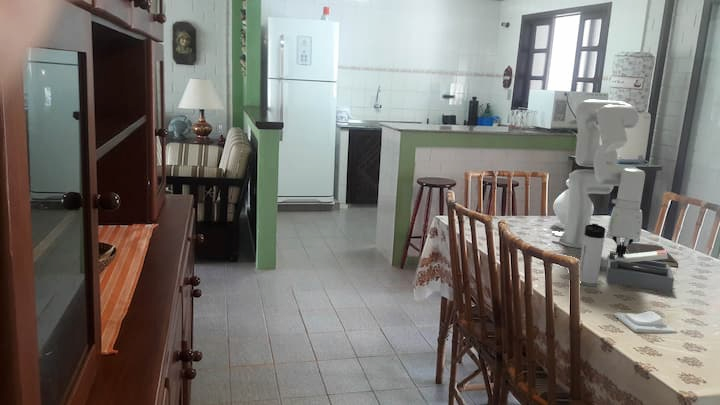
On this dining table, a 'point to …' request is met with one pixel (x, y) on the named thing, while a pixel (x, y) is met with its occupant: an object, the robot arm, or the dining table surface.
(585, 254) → the travel mug
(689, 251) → the dining table surface
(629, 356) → the dining table surface
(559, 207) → the decorative vase
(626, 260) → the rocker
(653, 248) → the hardcover book
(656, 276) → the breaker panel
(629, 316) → the light switch
